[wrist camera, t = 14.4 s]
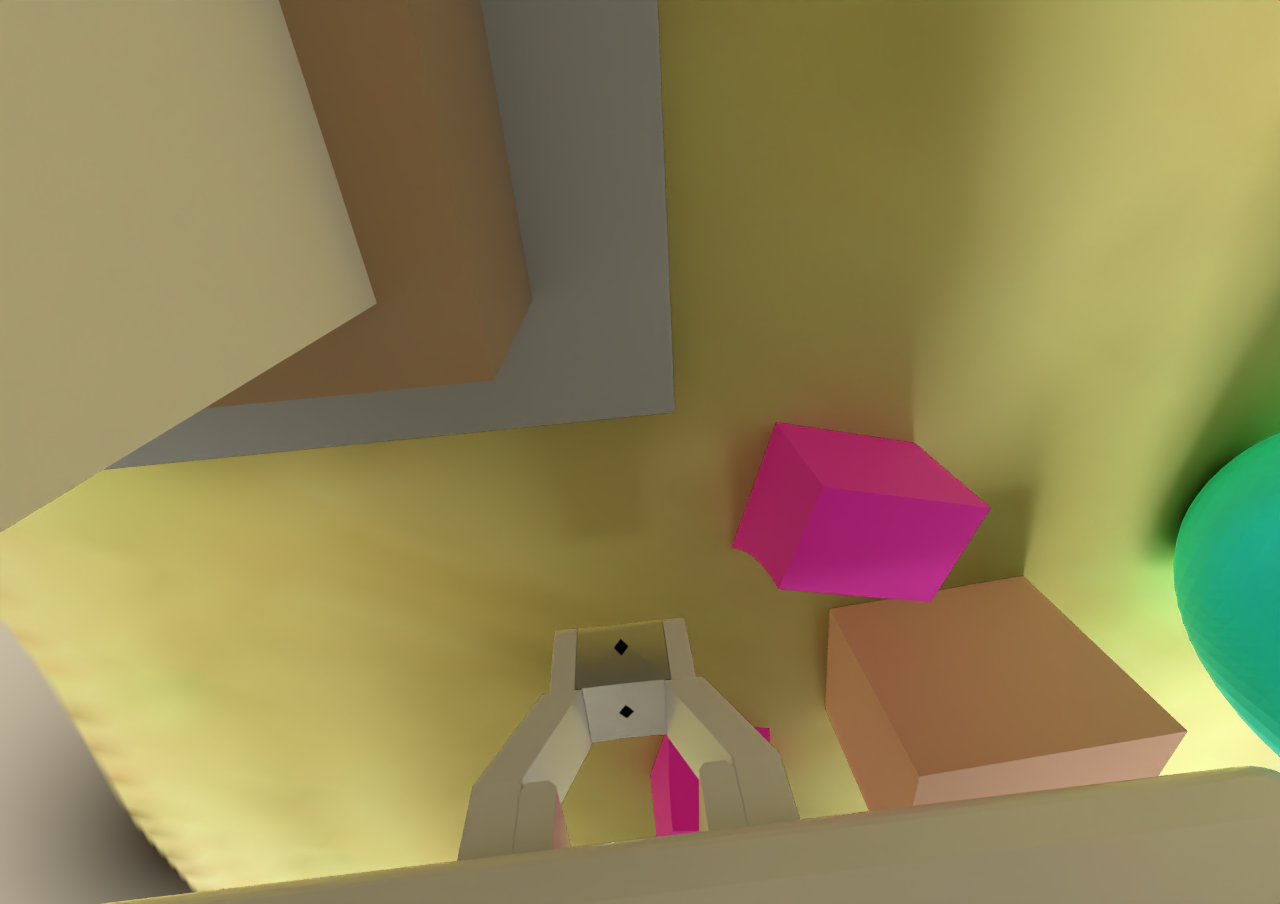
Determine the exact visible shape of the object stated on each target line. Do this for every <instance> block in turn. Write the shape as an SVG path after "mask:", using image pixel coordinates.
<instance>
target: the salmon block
mask: <svg viewBox="0 0 1280 904" xmlns="http://www.w3.org/2000/svg"><path fill="white" fill-rule="evenodd" d="M825 709H826V712H827V714H828V716H829V719H830V721H831V723H832V726H833V728H834V730H835V733H836V735H837V737H838V740H839V742H840V744H841V747H842V749H843V751H844V754H845V756H846V758H847V761H848V763H849V765H850V768H851V770H852V772H853V775H854V777H855V779H856V782H857V784H858V786H859V789H860V791H861V793H862V796H863V798H864V800H865V803H866V805H867V807H868V809H869V811H876V810H884V809H892V808H900V807H909V806H917V805H925V804H933V803H942V802H950V801H958V800H967V799H975V798H983V797H991V796H1000V795H1008V794H1016V793H1024V792H1033V791H1041V790H1049V789H1058V788H1066V787H1074V786H1082V785H1091V784H1099V783H1107V782H1115V781H1124V780H1132V779H1140V778H1149V777H1157V776H1158V775H1159V774H1160V772H1161V771H1162V769H1163V768H1164V766H1165V765H1166V763H1167V762H1168V760H1169V759H1170V757H1171V756H1172V754H1173V753H1174V751H1175V749H1176V748H1177V746H1178V745H1179V743H1180V742H1181V740H1182V739H1183V737H1184V736H1185V734H1186V733H1187V730H1186V729H1185V728H1184V727H1183V726H1181V725H1180V724H1179V723H1178V722H1177V721H1176V720H1175V719H1174V718H1173V717H1172V716H1171V715H1170V714H1169V713H1168V712H1167V711H1166V710H1165V709H1163V708H1162V707H1161V706H1160V705H1159V704H1158V703H1157V702H1156V701H1155V700H1154V699H1153V698H1152V697H1151V696H1150V695H1149V694H1148V693H1147V692H1146V691H1144V690H1143V689H1142V688H1141V687H1140V686H1139V685H1138V684H1137V683H1136V682H1135V681H1134V680H1133V679H1132V678H1131V677H1130V676H1129V675H1128V674H1126V673H1125V672H1124V671H1123V670H1122V669H1121V668H1120V667H1119V666H1118V665H1117V664H1116V663H1115V662H1114V661H1113V660H1112V659H1111V658H1110V657H1109V656H1107V655H1106V654H1105V653H1104V652H1103V651H1102V650H1101V649H1100V648H1099V647H1098V646H1097V645H1096V644H1095V643H1094V642H1093V641H1092V640H1091V639H1089V638H1088V637H1087V636H1086V635H1085V634H1084V633H1083V632H1082V631H1081V630H1080V629H1079V628H1078V627H1077V626H1076V625H1075V624H1074V623H1073V622H1072V621H1070V620H1069V619H1068V618H1067V617H1066V616H1065V615H1064V614H1063V613H1062V612H1061V611H1060V610H1059V609H1058V608H1057V607H1056V606H1055V605H1054V604H1052V603H1051V602H1050V601H1049V600H1048V599H1047V598H1046V597H1045V596H1044V595H1043V594H1042V593H1041V592H1040V591H1039V590H1038V589H1037V588H1036V587H1035V586H1033V585H1032V584H1031V583H1030V582H1029V581H1028V580H1027V579H1026V578H1025V577H1024V576H1018V577H1013V578H1007V579H1001V580H995V581H989V582H984V583H978V584H972V585H966V586H960V587H955V588H949V589H943V590H938V591H937V593H936V594H935V596H934V597H933V599H932V601H931V602H922V601H910V600H898V599H885V600H879V601H873V602H868V603H862V604H856V605H850V606H845V607H839V608H833V609H830V613H829V634H828V655H827V676H826V698H825Z"/></svg>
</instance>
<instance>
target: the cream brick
mask: <svg viewBox="0 0 1280 904" xmlns="http://www.w3.org/2000/svg"><path fill="white" fill-rule="evenodd" d="M375 304H377V302H376V299H375V296H374V293H373V290H372V287H371V284H370V281H369V278H368V274H367V271H366V268H365V265H364V262H363V259H362V256H361V253H360V250H359V247H358V244H357V241H356V237H355V234H354V231H353V228H352V225H351V222H350V219H349V216H348V213H347V210H346V207H345V203H344V200H343V197H342V194H341V191H340V188H339V185H338V182H337V179H336V176H335V173H334V170H333V166H332V163H331V160H330V157H329V154H328V151H327V148H326V145H325V142H324V139H323V136H322V132H321V129H320V126H319V123H318V120H317V117H316V114H315V111H314V108H313V105H312V102H311V99H310V95H309V92H308V89H307V86H306V83H305V80H304V77H303V74H302V71H301V68H300V65H299V61H298V58H297V55H296V52H295V49H294V46H293V43H292V40H291V37H290V34H289V31H288V28H287V24H286V21H285V18H284V15H283V12H282V9H281V6H280V3H279V0H0V532H2V531H3V530H5V529H6V528H8V527H10V526H11V525H13V524H15V523H16V522H18V521H20V520H21V519H23V518H25V517H26V516H28V515H30V514H31V513H33V512H34V511H36V510H38V509H39V508H41V507H43V506H44V505H46V504H48V503H49V502H51V501H53V500H54V499H56V498H57V497H59V496H61V495H62V494H64V493H66V492H67V491H69V490H71V489H72V488H74V487H76V486H77V485H79V484H81V483H82V482H84V481H85V480H87V479H89V478H90V477H92V476H94V475H95V474H97V473H99V472H100V471H102V470H104V469H105V468H107V467H109V466H110V465H112V464H113V463H115V462H117V461H118V460H120V459H122V458H123V457H125V456H127V455H128V454H130V453H132V452H133V451H135V450H137V449H138V448H140V447H141V446H143V445H145V444H146V443H148V442H150V441H151V440H153V439H155V438H156V437H158V436H160V435H161V434H163V433H165V432H166V431H168V430H169V429H171V428H173V427H174V426H176V425H178V424H179V423H181V422H183V421H184V420H186V419H188V418H189V417H191V416H192V415H194V414H196V413H197V412H199V411H201V410H202V409H204V408H206V407H207V406H209V405H211V404H212V403H214V402H216V401H217V400H219V399H220V398H222V397H224V396H225V395H227V394H229V393H230V392H232V391H234V390H235V389H237V388H239V387H240V386H242V385H244V384H245V383H247V382H248V381H250V380H252V379H253V378H255V377H257V376H258V375H260V374H262V373H263V372H265V371H267V370H268V369H270V368H272V367H273V366H275V365H276V364H278V363H280V362H281V361H283V360H285V359H286V358H288V357H290V356H291V355H293V354H295V353H296V352H298V351H299V350H301V349H303V348H304V347H306V346H308V345H309V344H311V343H313V342H314V341H316V340H318V339H319V338H321V337H323V336H324V335H326V334H327V333H329V332H331V331H332V330H334V329H336V328H337V327H339V326H341V325H342V324H344V323H346V322H347V321H349V320H351V319H352V318H354V317H355V316H357V315H359V314H360V313H362V312H364V311H365V310H367V309H369V308H370V307H372V306H374V305H375Z"/></svg>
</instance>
